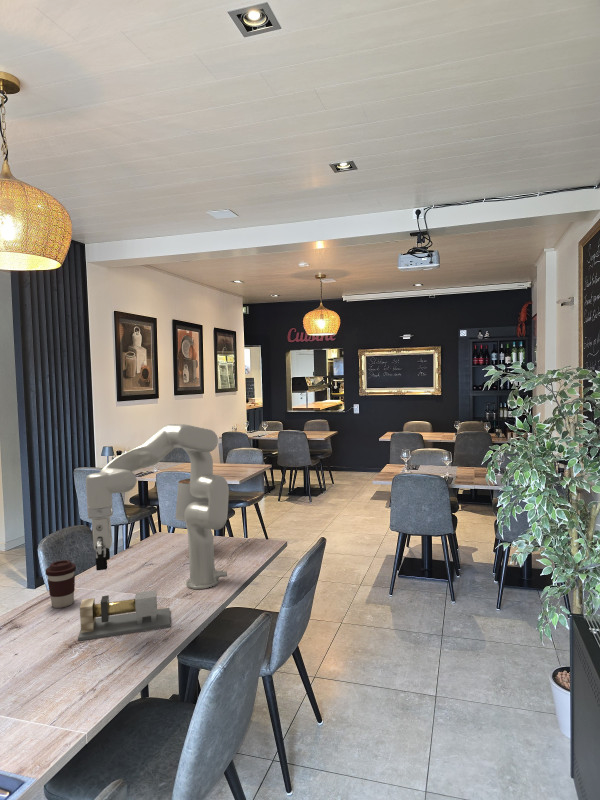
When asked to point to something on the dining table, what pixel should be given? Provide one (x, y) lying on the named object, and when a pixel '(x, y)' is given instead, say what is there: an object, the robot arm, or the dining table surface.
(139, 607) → the sleeve
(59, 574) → the coffee cup
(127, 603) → the tube
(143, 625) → the board
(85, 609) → the socket
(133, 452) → the robot arm
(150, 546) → the dining table surface
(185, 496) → the lamp
